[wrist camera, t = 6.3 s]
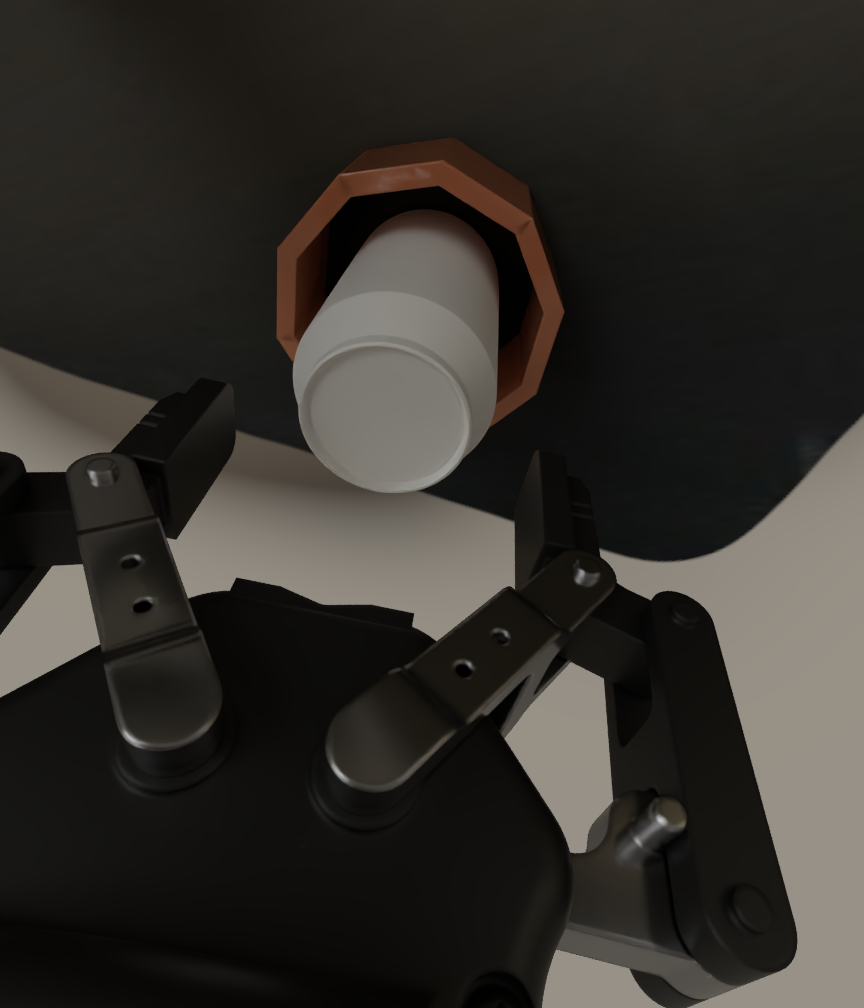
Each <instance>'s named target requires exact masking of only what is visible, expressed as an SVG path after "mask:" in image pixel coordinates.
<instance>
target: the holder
mask: <svg viewBox="0 0 864 1008" xmlns="http://www.w3.org/2000/svg"><path fill="white" fill-rule="evenodd" d="M433 186H440V187H442V188H443V189H445V190H446V191H448V192H449V193H451V194H453V195H454V196H456V197H457V198H459V199H461V200H462V201H464V202H465V203H467V204H468V205H470V206H472V207H473V208H475V209H476V210H478V211H479V212H481V213H483V214H484V215H486V216H487V217H489V218H490V219H492V220H494V221H495V222H497V223H498V224H500V225H501V226H503V227H505V228H506V229H508V230H509V231H511V232H512V233H514V234H515V235H516V238H517V241H518V244H519V246H520V249H521V252H522V255H523V257H524V260H525V263H526V266H527V269H528V271H529V274H530V277H531V280H532V283H533V289H532V292H531V296H530V299H529V302H528V306H527V309H526V312H525V316H524V319H523V323H522V326H521V329H520V333H519V335H517V336H516V337H515V338H513V339H512V340H511V341H510V342H508V343H507V344H506V345H505V346H503V347H502V348H501V349H500V350H498V368H497V398H496V406H495V411H494V415H493V418H492V421H491V423H490V426H489V427H491V426H492V425H494V424H495V423H496V422H498V421H499V420H501V419H502V418H503V417H505V416H506V415H508V414H509V413H510V412H512V411H513V410H515V409H516V408H517V407H519V406H520V405H522V404H523V403H524V402H526V401H527V400H529V399H530V398H531V397H533V396H534V395H536V394H537V391H538V388H539V385H540V382H541V379H542V376H543V373H544V370H545V367H546V364H547V361H548V358H549V356H550V353H551V350H552V347H553V344H554V341H555V338H556V335H557V332H558V329H559V326H560V323H561V320H562V318H563V315H564V307H563V302H562V297H561V292H560V287H559V282H558V277H557V272H556V267H555V264H554V261H553V258H552V255H551V252H550V249H549V246H548V243H547V240H546V237H545V234H544V231H543V228H542V225H541V222H540V219H539V216H538V213H537V210H536V207H535V204H534V201H533V198H532V195H531V192H530V189H529V186H527V185H525V184H524V183H522V182H521V181H519V180H518V179H516V178H515V177H513V176H512V175H510V174H509V173H507V172H506V171H504V170H503V169H501V168H500V167H498V166H497V165H495V164H494V163H492V162H491V161H489V160H488V159H486V158H485V157H483V156H482V155H480V154H479V153H477V152H476V151H474V150H473V149H471V148H470V147H468V146H467V145H465V144H464V143H462V142H461V141H459V140H458V139H456V138H455V137H451V138H444V139H436V140H429V141H422V142H415V143H408V144H401V145H394V146H387V147H380V148H373V149H367V150H366V151H365V152H363V153H362V154H361V155H360V156H359V157H358V158H357V159H355V160H354V161H353V162H352V163H351V164H350V165H349V166H347V167H346V168H345V169H344V170H343V171H342V172H341V173H339V174H338V176H337V177H336V178H335V179H334V181H333V182H332V183H331V184H330V185H329V187H328V188H327V189H326V190H325V191H324V193H323V194H322V195H321V196H320V197H319V199H318V200H317V201H316V202H315V203H314V205H313V206H312V207H311V208H310V209H309V211H308V212H307V213H306V214H305V215H304V217H303V218H302V219H301V220H300V221H299V223H298V224H297V225H296V226H295V227H294V229H293V230H292V231H291V232H290V233H289V235H288V236H287V237H286V238H285V239H284V241H283V242H282V243H281V244H280V245H279V246H278V248H277V339H278V340H279V342H280V343H281V345H282V346H283V348H284V349H285V351H286V352H287V354H288V355H289V357H290V358H291V360H292V361H293V363H294V359H295V355H296V351H297V348H298V345H299V343H300V341H301V339H302V337H303V335H304V333H305V331H306V330H307V328H308V327H309V325H310V324H311V322H312V321H313V319H314V318H315V316H316V315H317V313H318V312H319V310H320V309H321V307H322V305H323V304H324V302H325V301H326V299H327V298H328V296H327V294H326V292H325V287H326V271H327V255H328V239H329V223H330V222H331V221H332V220H333V218H334V217H335V216H336V215H337V214H338V213H339V211H340V210H341V209H342V208H343V207H344V206H345V205H346V203H347V202H348V201H349V200H350V199H351V198H352V197H355V196H363V195H371V194H378V193H386V192H394V191H402V190H410V189H417V188H425V187H433Z"/></svg>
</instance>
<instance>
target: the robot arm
mask: <svg viewBox="0 0 864 1008" xmlns="http://www.w3.org/2000/svg"><path fill="white" fill-rule="evenodd" d="M235 439H236V430H235V410H234V391H233V387H232V385H231V384H228V383H224V382H219V381H214V380H210V379H205V378H200V379H198V380H197V381H196V383H195V384H194V385H193V386H192V387H191V388H190V389H189V390H188V392H187V393H186V394H183V393H178V392H176V393H174V394H172V395H170V396H168V397H166V398H164V399H162V400H160V401H159V402H158V403H157V404H156V405H155V406H154V407H153V408H152V409H151V410H150V411H149V414H147V415H145V416H144V417H143V418H142V420H141V421H140V424H137V425H136V426H135V427H134V428H133V429H132V430H131V431H130V432H129V433H128V435H127V436H126V437H125V438H124V439H123V440H122V441H121V442H120V443H119V444H118V445H117V446H116V447H115V448H114V449H113V450H112V451H111V452H110V453H109V452H108V453H96V454H91V455H88V456H85V457H83V458H80V459H78V460H77V461H75V462H74V463H73V464H71V466H69V468H68V469H67V472H30V473H29V472H26V469H25V466H24V463H23V461H22V460H21V459H20V458H19V457H17V456H16V455H13V454H10V453H7V452H0V635H1V633H2V632H3V631H4V629H5V628H6V627H7V625H8V624H9V623H10V621H11V620H12V619H13V617H14V616H15V615H16V613H17V612H18V610H19V609H20V608H21V607H22V605H23V604H24V603H25V601H26V600H27V599H28V597H29V596H30V595H31V593H32V592H33V591H34V589H35V588H36V587H37V586H38V584H39V583H40V582H41V580H42V579H43V577H44V576H45V575H46V574H47V572H48V571H49V570H50V568H51V567H52V566H54V565H74V564H83V567H84V571H85V575H86V580H87V585H88V589H89V594H90V599H91V603H92V608H93V612H94V617H95V622H96V626H97V631H98V635H99V639H100V645H98V646H96V647H95V648H92V649H91V650H89V651H87V652H85V653H83V654H81V655H79V656H77V657H76V658H74V659H72V660H70V661H68V662H66V663H65V664H62V665H61V666H59V667H57V668H55V669H53V670H51V671H49V672H47V673H46V674H44V675H42V676H40V677H38V678H36V679H34V680H33V681H31V682H29V683H27V684H25V685H23V686H21V687H19V688H17V689H16V690H14V691H12V692H10V693H8V694H6V695H4V696H3V697H1V698H0V1008H542V1001H543V994H544V989H545V984H546V979H547V975H548V972H549V968H550V965H551V962H552V959H553V956H554V953H555V951H556V949H557V950H561V951H565V952H569V953H572V954H576V955H580V956H584V957H588V958H592V959H595V960H599V961H603V962H607V963H611V964H615V965H619V966H623V967H627V968H630V971H631V973H632V975H633V977H634V979H635V981H636V982H637V983H638V985H639V986H640V988H641V989H642V990H643V991H644V992H645V994H646V995H647V996H649V997H650V998H651V999H652V1000H653V1001H655V1002H656V1003H658V1004H659V1005H661V1006H663V1007H666V1008H687V1007H690V1006H692V1005H695V1004H697V1003H700V1002H702V1001H705V1000H707V999H709V998H712V997H715V996H717V995H720V994H723V993H725V992H728V991H730V990H733V989H735V988H738V987H740V986H742V985H745V984H748V983H750V982H753V981H755V980H758V979H760V978H763V977H766V976H768V975H771V974H773V973H776V972H778V971H781V970H783V969H785V968H786V967H787V966H788V965H789V964H790V963H791V962H792V960H793V959H794V956H795V953H796V950H797V931H796V926H795V922H794V918H793V915H792V911H791V907H790V903H789V900H788V896H787V893H786V889H785V885H784V881H783V877H782V874H781V870H780V866H779V863H778V859H777V855H776V851H775V848H774V844H773V841H772V837H771V833H770V830H769V826H768V822H767V819H766V815H765V811H764V808H763V803H762V800H761V796H760V792H759V789H758V785H757V782H756V778H755V775H754V770H753V767H752V763H751V759H750V755H749V752H748V748H747V744H746V741H745V737H744V733H743V730H742V726H741V722H740V719H739V715H738V711H737V707H736V704H735V700H734V697H733V693H732V689H731V686H730V682H729V678H728V674H727V671H726V667H725V663H724V659H723V656H722V652H721V648H720V645H719V641H718V637H717V634H716V630H715V626H714V623H713V620H712V618H711V616H710V615H709V613H708V612H707V611H706V610H705V608H704V607H703V606H701V605H700V604H699V603H698V602H697V601H695V600H694V599H692V598H690V597H688V596H686V595H684V594H681V593H678V592H673V591H663V592H660V593H658V594H656V595H655V596H654V597H653V599H652V600H649V599H647V598H645V597H642V596H640V595H638V594H636V593H633V592H632V591H629V590H627V589H626V588H624V587H622V586H620V585H619V584H618V583H617V580H616V575H615V572H614V571H613V569H612V568H611V566H610V565H609V564H608V563H607V562H606V561H605V560H604V559H602V558H601V557H600V551H599V546H598V540H597V534H596V528H595V522H594V520H593V518H594V516H593V510H592V509H591V507H592V504H591V498H590V492H589V491H588V490H587V488H586V487H585V485H584V484H583V483H582V481H581V480H580V479H579V478H575V477H570V476H567V468H566V461H565V457H564V456H562V455H557V454H552V453H548V452H543V451H538V450H537V451H536V452H535V453H534V455H533V458H532V461H531V463H530V466H529V469H528V471H527V474H526V477H525V480H524V482H523V485H522V488H521V491H520V493H519V496H518V500H517V504H516V510H515V590H514V589H513V588H512V587H510V586H508V587H506V588H504V589H502V590H501V591H500V592H498V593H497V594H496V595H495V596H493V597H492V598H491V599H490V600H489V601H487V602H486V603H485V604H483V605H482V606H481V607H480V608H478V609H477V610H476V611H475V612H473V613H472V614H471V615H470V616H468V617H467V618H466V619H465V620H463V621H462V622H461V623H459V624H458V625H457V626H456V627H454V628H453V629H452V630H451V631H449V632H448V633H447V634H446V635H444V636H443V637H442V638H441V639H439V640H438V641H435V640H434V639H433V638H431V637H430V636H429V635H427V634H425V633H424V632H422V631H420V630H418V629H416V628H413V627H412V622H413V617H414V613H409V612H404V611H399V610H394V609H389V608H384V607H380V606H374V605H322V604H319V603H317V602H315V601H312V600H310V599H308V598H305V597H303V596H301V595H299V594H296V593H294V592H292V591H289V590H287V589H285V588H283V587H281V586H276V585H270V584H265V583H261V582H256V581H251V580H246V579H241V578H236V580H235V582H234V584H233V586H232V588H231V590H230V591H218V592H211V593H206V594H201V595H198V596H195V597H191V598H189V599H188V597H187V595H186V592H185V589H184V587H183V583H182V581H181V578H180V575H179V572H178V570H177V567H176V564H175V561H174V558H173V555H172V552H171V550H170V547H169V544H168V541H167V538H171V539H177V538H178V536H179V535H180V533H181V531H182V530H183V529H184V527H185V526H186V524H187V522H188V521H189V519H190V518H191V516H192V515H193V513H194V512H195V510H196V508H197V507H198V506H199V504H200V503H201V501H202V499H203V498H204V497H205V495H206V493H207V492H208V490H209V489H210V487H211V486H212V484H213V483H214V481H215V480H216V478H217V477H218V475H219V474H220V472H221V470H222V469H223V467H224V466H225V464H226V463H227V461H228V460H229V458H230V456H231V454H232V452H233V449H234V445H235ZM570 662H572V663H574V664H576V665H579V666H580V667H582V668H584V669H586V670H588V671H590V672H592V673H594V674H596V675H598V676H600V677H602V678H604V685H605V698H606V712H607V725H608V738H609V752H610V764H611V778H612V790H613V802H612V803H611V804H610V805H609V806H608V808H607V809H606V810H605V811H604V812H603V813H602V814H601V815H600V816H599V817H598V818H597V819H596V820H595V822H594V823H593V824H592V826H591V828H590V830H589V834H588V841H587V850H586V852H585V853H570V851H569V847H568V844H567V841H566V839H565V836H564V834H563V832H562V830H561V827H560V825H559V824H558V822H557V820H556V818H555V817H554V815H553V814H552V812H551V811H550V809H549V807H548V806H547V804H546V803H545V801H544V800H543V798H542V797H541V795H540V793H539V792H538V791H537V789H536V787H535V786H534V784H533V783H532V781H531V779H530V778H529V776H528V775H527V773H526V772H525V770H524V769H523V767H522V765H521V764H520V762H519V761H518V759H517V758H516V756H515V755H514V753H513V751H512V750H511V748H510V747H509V745H508V744H507V742H506V741H505V739H504V738H505V737H506V735H507V734H508V733H509V732H510V731H511V730H512V728H513V727H514V726H515V724H516V723H517V722H518V720H519V719H520V718H521V716H522V715H523V713H524V712H525V711H526V710H527V708H528V707H529V706H530V705H531V704H532V702H534V700H535V699H536V698H537V697H538V696H539V695H540V694H541V693H542V692H543V691H544V690H545V689H546V688H547V687H548V686H549V685H550V683H551V682H552V681H553V680H554V679H555V678H556V677H557V676H558V675H559V674H560V673H561V672H562V671H563V670H564V669H565V668H566V667H567V665H568V664H569V663H570Z"/></svg>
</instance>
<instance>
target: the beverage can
mask: <svg viewBox="0 0 864 1008" xmlns="http://www.w3.org/2000/svg"><path fill="white" fill-rule="evenodd" d="M498 325H499V280H498V272H497V268H496V264H495V261H494V258H493V256H492V254H491V252H490V249H489V248H488V246H487V244H486V243H485V241H484V240H483V238H482V237H481V236H480V235H479V234H478V233H477V231H476V230H474V229H473V228H472V227H471V226H470V225H469V224H467V223H466V222H465V221H463V220H461V219H460V218H458V217H456V216H454V215H451V214H449V213H446V212H443V211H438V210H432V209H417V210H411V211H407V212H403V213H400V214H398V215H396V216H394V217H392V218H390V219H388V220H387V221H385V222H384V223H382V224H381V225H380V226H379V227H378V228H376V229H375V230H374V231H373V233H372V234H371V235H370V236H369V237H368V239H367V240H366V241H365V243H364V244H363V245H362V247H361V248H360V250H359V251H358V253H357V254H356V256H355V257H354V259H353V260H352V262H351V263H350V265H349V266H348V268H347V269H346V271H345V272H344V274H343V275H342V277H341V278H340V280H339V281H338V283H337V284H336V286H335V287H334V289H333V290H332V292H331V293H330V295H329V296H328V298H327V299H326V301H325V302H324V304H323V305H322V307H321V309H320V310H319V312H318V313H317V315H316V316H315V318H314V319H313V321H312V322H311V324H310V325H309V327H308V328H307V330H306V331H305V333H304V335H303V337H302V339H301V341H300V343H299V345H298V348H297V351H296V355H295V359H294V365H293V385H294V391H295V396H296V400H297V403H298V412H299V421H300V426H301V429H302V432H303V435H304V437H305V440H306V442H307V443H308V445H309V447H310V448H311V450H312V451H313V453H314V454H315V456H316V457H317V458H318V459H319V460H320V461H321V462H322V463H323V464H324V465H325V466H326V467H327V468H328V469H329V470H330V471H332V472H333V473H334V474H336V475H337V476H339V477H340V478H342V479H344V480H346V481H347V482H350V483H352V484H354V485H356V486H359V487H362V488H365V489H368V490H372V491H377V492H384V493H405V492H412V491H417V490H421V489H424V488H427V487H429V486H432V485H434V484H436V483H437V482H439V481H441V480H442V479H444V478H445V477H447V476H448V475H449V474H450V473H451V472H452V471H453V470H454V469H455V468H456V467H457V466H458V465H459V463H460V462H461V460H462V459H463V458H464V457H465V456H466V455H467V454H469V453H470V452H471V451H472V450H473V449H474V448H475V447H476V446H477V445H478V443H479V442H480V441H481V439H482V438H483V437H484V435H485V433H486V432H487V430H488V428H489V426H490V423H491V421H492V418H493V415H494V411H495V406H496V398H497V368H498Z"/></svg>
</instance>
